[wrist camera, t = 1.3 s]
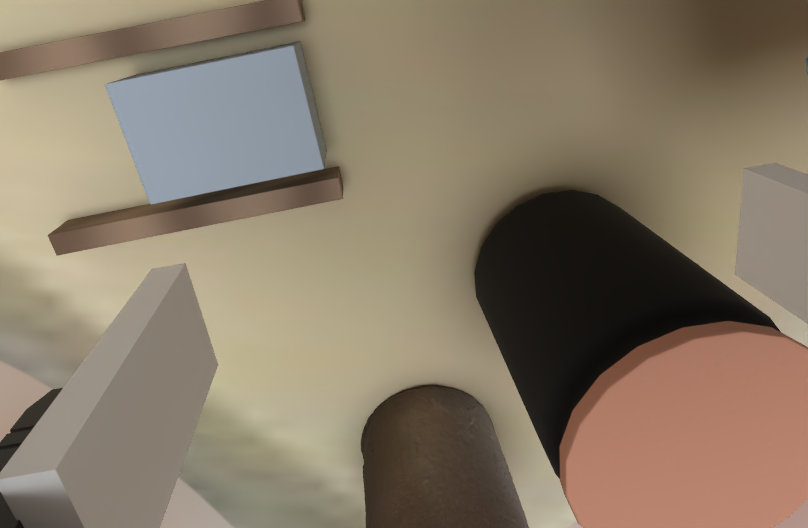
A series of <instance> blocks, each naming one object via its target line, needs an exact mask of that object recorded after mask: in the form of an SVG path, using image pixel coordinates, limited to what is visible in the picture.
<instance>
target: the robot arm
mask: <svg viewBox="0 0 808 528" xmlns="http://www.w3.org/2000/svg"><path fill="white" fill-rule="evenodd" d="M806 67H807V74H808V57H807V59H806ZM735 275H736V276H738V277H739V278H741V279H742V280H744V281H745V282H747V283H748V284H750V285H751V286H753V287H754V288H756V289H757V290H759V291H760V292H761V293H763V294H764V295H766V296H767V297H769V298H770V299H772V300H773V301H775V302H776V303H778V304H779V305H781V306H782V307H784V308H785V309H787V310H788V311H790V312H791V313H793V314H794V315H795V316H797V317H798V318H800V319H801V320H803V321H804V322H806V323H807V324H808V174H805V173H802V172H799V171H797V170H794V169H791V168H788V167H785V166H782V165H780V164H777V163H774V164H768V165H762V166H756V167H750V168H744V174H743V186H742V197H741V209H740V220H739V231H738V243H737V254H736V266H735ZM217 366H218V363H217V360H216V357H215V353H214V350H213V347H212V344H211V341H210V338H209V335H208V332H207V329H206V326H205V322H204V319H203V316H202V313H201V310H200V307H199V304H198V301H197V298H196V295H195V291H194V288H193V285H192V282H191V279H190V276H189V273H188V270H187V267H186V264H179V265H173V266H167V267H161V268H155V269H152V270H151V271H150V272H149V274H148V275H147V276H146V278H145V279H144V280H143V282H142V283H141V284H140V286H139V287H138V288H137V290H136V291H135V292H134V294H133V295H132V296H131V298H130V299H129V300H128V302H127V303H126V305H125V306H124V307H123V309H122V310H121V311H120V313H119V314H118V315H117V317H116V318H115V319H114V321H113V322H112V323H111V325H110V326H109V327H108V329H107V330H106V331H105V333H104V334H103V335H102V337H101V338H100V339H99V341H98V342H97V343H96V345H95V346H94V347H93V349H92V350H91V351H90V353H89V354H88V355H87V357H86V358H85V359H84V361H83V362H82V363H81V365H80V366H79V368H78V369H77V370H76V372H75V373H74V374H73V376H72V377H71V378H70V380H69V381H68V382H67V384H66V385H65V386H64V388H59V389H53V390H51V391H50V392H49V393H47V394H46V395H45V396H43V397H42V398H41V399H39V400H38V401H37V402H36V403H34V404H33V405H32V406H30V407H29V408H28V409H26V411H25V412H24V413H23V415H22V416H21V417H20V418H19V420H18V421H17V422H16V423H15V425H14V426H13V427H12V428H11V430H10V431H11V433H10V434H7V435H6V436H5V437H4V439H3V440H2V441H1V442H0V528H160V525H161V522H162V520H163V517H164V514H165V512H166V509H167V506H168V503H169V500H170V497H171V495H172V492H173V489H174V486H175V483H176V481H177V478H178V475H179V472H180V470H181V467H182V464H183V461H184V458H185V456H186V453H187V450H188V447H189V444H190V442H191V439H192V436H193V433H194V430H195V428H196V425H197V422H198V419H199V417H200V414H201V411H202V408H203V405H204V403H205V400H206V397H207V394H208V391H209V389H210V386H211V383H212V380H213V377H214V375H215V372H216V369H217Z"/></svg>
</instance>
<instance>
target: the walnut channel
mask: <svg viewBox="0 0 808 528" xmlns="http://www.w3.org/2000/svg"><path fill="white" fill-rule="evenodd" d="M300 21H305V17H304V13H303V8H302V4H301V0H266V1H261V2H256V3H251V4H245V5H240V6H235V7H230V8H225V9H220V10H215V11H210V12H205V13H200V14H194V15H189V16H184V17H179V18H174V19H169V20H164V21H159V22H154V23H149V24H143V25H138V26H133V27H128V28H123V29H118V30H113V31H108V32H103V33H97V34H92V35H87V36H82V37H77V38H72V39H67V40H62V41H57V42H52V43H46V44H41V45H36V46H31V47H26V48H21V49H16V50H11V51H6V52H1V53H0V80H5V79H10V78H15V77H20V76H25V75H30V74H35V73H41V72H46V71H51V70H56V69H61V68H66V67H71V66H76V65H81V64H86V63H91V62H97V61H102V60H107V59H112V58H117V57H122V56H127V55H132V54H137V53H142V52H147V51H153V50H158V49H163V48H168V47H173V46H178V45H183V44H188V43H193V42H198V41H204V40H209V39H214V38H219V37H224V36H229V35H234V34H239V33H244V32H249V31H254V30H260V29H265V28H270V27H275V26H280V25H285V24H290V23H295V22H300ZM339 199H343V183H342V179H341V174H340V170H339V167H334V168H329V169H324V170H319V171H314V172H309V173H304V174H299V175H294V176H289V177H284V178H279V179H274V180H269V181H264V182H259V183H254V184H249V185H244V186H238V187H233V188H229V189H224V190H219V191H214V192H209V193H204V194H199V195H195V196H190V197H185V198H180V199H175V200H170V201H165V202H161V203H156V204H151V205H150V204H148V205H143V206H138V207H133V208H128V209H123V210H117V211H112V212H107V213H102V214H97V215H92V216H87V217H82V218H77V219H72V220H68V221H66V222H65V223H64V224H62V225H61V226H60V227H58V228H57V229H56V230H54V231H53V232H52V233H50V234H49V235H48V237H49V239H50V242H51V244H52V246H53V248H54V250H55V253H56V255H62V254H67V253H72V252H77V251H82V250H87V249H92V248H97V247H102V246H107V245H112V244H117V243H122V242H127V241H132V240H137V239H142V238H147V237H152V236H157V235H162V234H167V233H172V232H178V231H183V230H188V229H193V228H198V227H203V226H208V225H213V224H218V223H223V222H228V221H233V220H238V219H243V218H248V217H253V216H258V215H263V214H268V213H273V212H278V211H283V210H288V209H293V208H298V207H303V206H308V205H313V204H318V203H323V202H328V201H333V200H339Z"/></svg>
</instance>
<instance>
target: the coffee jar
mask: <svg viewBox="0 0 808 528" xmlns="http://www.w3.org/2000/svg"><path fill="white" fill-rule="evenodd" d="M475 285H476V297H477V299H478V302H479V304H480V306H481V308H482V311H483V313H484V315H485V317H486V320H487V322H488V324H489V326H490V329H491V331H492V333H493V335H494V338H495V340H496V342H497V344H498V347H499V349H500V351H501V353H502V356H503V358H504V360H505V362H506V365H507V367H508V369H509V371H510V374H511V376H512V378H513V380H514V383H515V385H516V387H517V389H518V392H519V394H520V396H521V398H522V401H523V403H524V405H525V407H526V410H527V412H528V414H529V416H530V419H531V421H532V423H533V425H534V428H535V430H536V432H537V434H538V437H539V439H540V441H541V443H542V446H543V448H544V450H545V452H546V454H547V456H548V459H549V461H550V463H551V465H552V467H553V469H554V471H555V474H556V475H557V476H558V477H559V479H560V482H561V485H562V488H563V491H564V494H565V496H566V499H567V501H568V503H569V505H570V507H571V509H572V511H573V513H574V516H575V518H576V520H577V522H578V524H579V525H580V526H582V527H583V528H773V527H774V526H776V525H777V524H779V523H780V522H782V521H783V520H785V519H787V518H788V517H790V516H791V515H792V514H793V513H794V511H796V510H797V509H798V508H799V507H800V506H801V505H802V504H803V503H804V502H805V501H806V499H808V347H806V346H805V345H803V344H801V343H799V342H797V341H795V340H794V339H792V338H790V337H788V336H786V335H785V334H783V333H781V332H780V330H779V329H778V328H777V326H776V325H775V324H774V322H773V321H772V320H771V318H770V317H768V316H767V315H766V314H764V313H763V312H762V311H760V310H759V309H757V308H756V307H755V306H753V305H752V304H751V303H749V302H748V301H747V300H745V299H744V298H742V297H741V296H740V295H738V294H737V293H736V292H734V291H733V290H732V289H730V288H729V287H727V286H726V285H725V284H723V283H722V282H721V281H719V280H718V279H717V278H715V277H714V276H712V275H711V274H710V273H708V272H707V271H706V270H704V269H703V268H701V267H700V266H699V265H697V264H696V263H695V262H693V261H692V260H691V259H689V258H688V257H686V256H685V255H684V254H682V253H681V252H680V251H678V250H677V249H676V248H674V247H673V246H671V245H670V244H669V243H667V242H666V241H665V240H663V239H662V238H661V237H659V236H658V235H656V234H655V233H654V232H652V231H651V230H650V229H648V228H647V227H645V226H644V225H643V224H641V223H640V222H639V221H637V220H636V219H635V218H633V217H632V216H630V215H629V214H628V213H626V212H625V211H624V210H622V209H621V208H620V207H618V206H616V205H614V204H613V203H611V202H609V201H607V200H606V199H604V198H602V197H600V196H599V195H595V194H590V193H584V192H578V191H573V190H570V191H563V192H556V193H549V194H543V195H540V196H538V197H536V198H534V199H532V200H529V201H527V202H525V203H523V204H521V205H519V206H517V207H515V208H514V209H513V210H512V211H511V212H510V213H509V214H507V215H506V216H505V217H504V218H503V219H502V220H501V221H499V222H498V223H497V224H496V225H495V227H494V229H493V230H492V232H491V233H490V235H489V236H488V238H487V240H486V241H485V243H484V244H483V246H482V247H481V250H480V254H479V258H478V262H477V266H476V269H475Z"/></svg>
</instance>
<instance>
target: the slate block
mask: <svg viewBox="0 0 808 528" xmlns="http://www.w3.org/2000/svg"><path fill="white" fill-rule="evenodd" d="M105 86H106V89H107V92H108V94H109V97H110V100H111V102H112V105H113V108H114V110H115V113H116V115H117V118H118V121H119V123H120V126H121V129H122V131H123V134H124V137H125V139H126V142H127V145H128V147H129V150H130V152H131V155H132V158H133V160H134V163H135V166H136V168H137V171H138V174H139V176H140V179H141V181H142V184H143V187H144V189H145V192H146V195H147V197H148V200H149V203H150V205H151V204H156V203H161V202H165V201H170V200H175V199H180V198H185V197H190V196H195V195H199V194H204V193H209V192H214V191H219V190H224V189H229V188H233V187H238V186H243V185H248V184H253V183H258V182H263V181H267V180H272V179H277V178H282V177H287V176H292V175H297V174H301V173H306V172H311V171H316V170H321V169H324V164H325V158H326V151H327V150H326V146H325V142H324V138H323V134H322V130H321V126H320V122H319V117H318V113H317V109H316V105H315V101H314V97H313V93H312V89H311V84H310V80H309V76H308V72H307V68H306V64H305V60H304V55H303V51H302V47H301V43H300V41H299V42H294V43H290V44H285V45H280V46H275V47H270V48H265V49H260V50H255V51H250V52H246V53H241V54H236V55H231V56H226V57H221V58H216V59H211V60H206V61H202V62H197V63H192V64H187V65H182V66H177V67H172V68H167V69H162V70H158V71H153V72H148V73H143V74H138V75H134V76H130V77H127V78H124V79H121V80H117V81H114V82H111V83H107V84H105Z"/></svg>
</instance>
